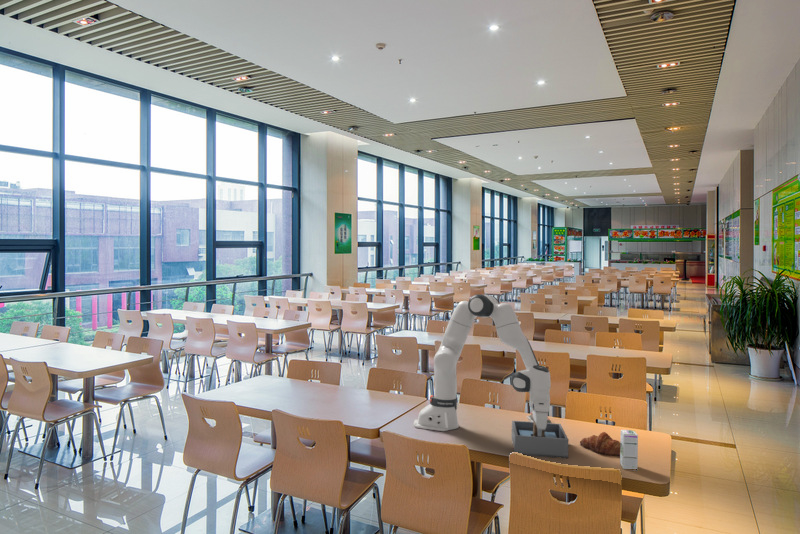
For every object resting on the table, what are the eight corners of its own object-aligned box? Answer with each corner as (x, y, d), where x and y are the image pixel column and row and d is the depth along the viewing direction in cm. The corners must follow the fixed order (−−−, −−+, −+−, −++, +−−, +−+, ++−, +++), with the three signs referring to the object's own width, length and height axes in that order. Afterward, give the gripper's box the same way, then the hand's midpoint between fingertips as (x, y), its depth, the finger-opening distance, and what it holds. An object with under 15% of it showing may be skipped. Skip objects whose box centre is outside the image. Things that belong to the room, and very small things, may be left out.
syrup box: (637, 470, 216) (639, 434, 215) (622, 469, 217) (623, 433, 217) (634, 465, 221) (635, 430, 221) (619, 464, 222) (620, 429, 222)
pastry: (615, 445, 246) (616, 427, 246) (631, 457, 231) (631, 439, 231) (579, 444, 245) (579, 427, 245) (592, 457, 230) (593, 438, 230)
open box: (514, 454, 230) (515, 435, 230) (511, 437, 252) (512, 420, 252) (567, 458, 227) (568, 439, 227) (559, 441, 249) (560, 423, 249)
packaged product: (554, 419, 268) (534, 418, 268) (554, 429, 268) (534, 428, 268) (545, 409, 286) (526, 408, 286) (545, 418, 286) (526, 417, 286)
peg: (534, 440, 238) (534, 425, 238) (532, 437, 242) (533, 422, 242) (544, 441, 237) (544, 425, 237) (543, 438, 242) (543, 422, 241)
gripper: (530, 396, 250) (529, 426, 250) (534, 408, 230) (533, 440, 230) (543, 397, 249) (543, 427, 249) (550, 409, 229) (548, 441, 229)
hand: (538, 433), depth 240 cm, fingers closed on peg, 4 cm apart
